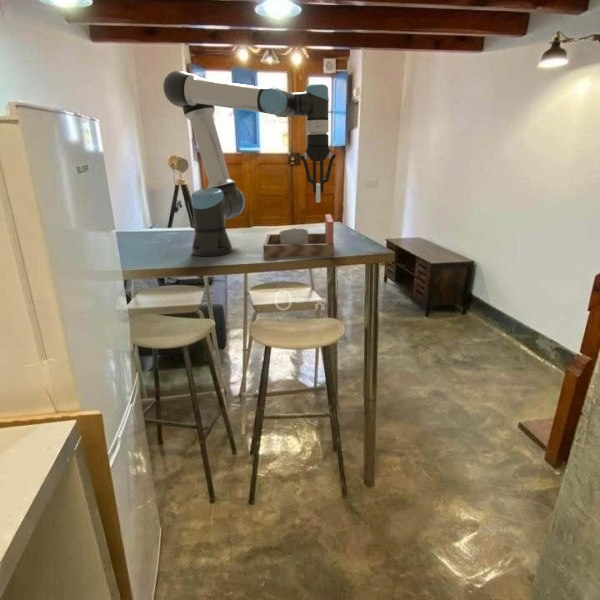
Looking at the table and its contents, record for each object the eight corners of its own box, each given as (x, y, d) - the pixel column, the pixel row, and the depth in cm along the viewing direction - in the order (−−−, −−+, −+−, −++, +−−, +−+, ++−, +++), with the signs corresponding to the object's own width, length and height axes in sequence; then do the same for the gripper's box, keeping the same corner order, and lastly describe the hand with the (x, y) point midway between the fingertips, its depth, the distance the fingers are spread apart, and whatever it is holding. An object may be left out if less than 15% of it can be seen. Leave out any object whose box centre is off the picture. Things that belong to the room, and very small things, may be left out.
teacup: (305, 255, 155) (305, 234, 152) (276, 254, 157) (276, 233, 154) (311, 246, 167) (311, 226, 165) (285, 246, 169) (284, 226, 167)
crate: (263, 257, 153) (263, 245, 151) (268, 245, 172) (267, 234, 170) (333, 256, 152) (333, 244, 151) (329, 243, 171) (330, 233, 170)
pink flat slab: (327, 254, 154) (327, 222, 149) (325, 244, 170) (325, 214, 166) (333, 254, 154) (333, 221, 149) (330, 244, 170) (330, 214, 166)
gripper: (299, 133, 144) (300, 203, 152) (337, 133, 144) (336, 203, 152) (299, 134, 151) (300, 201, 159) (335, 133, 151) (335, 200, 159)
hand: (318, 202), depth 155 cm, fingers closed
